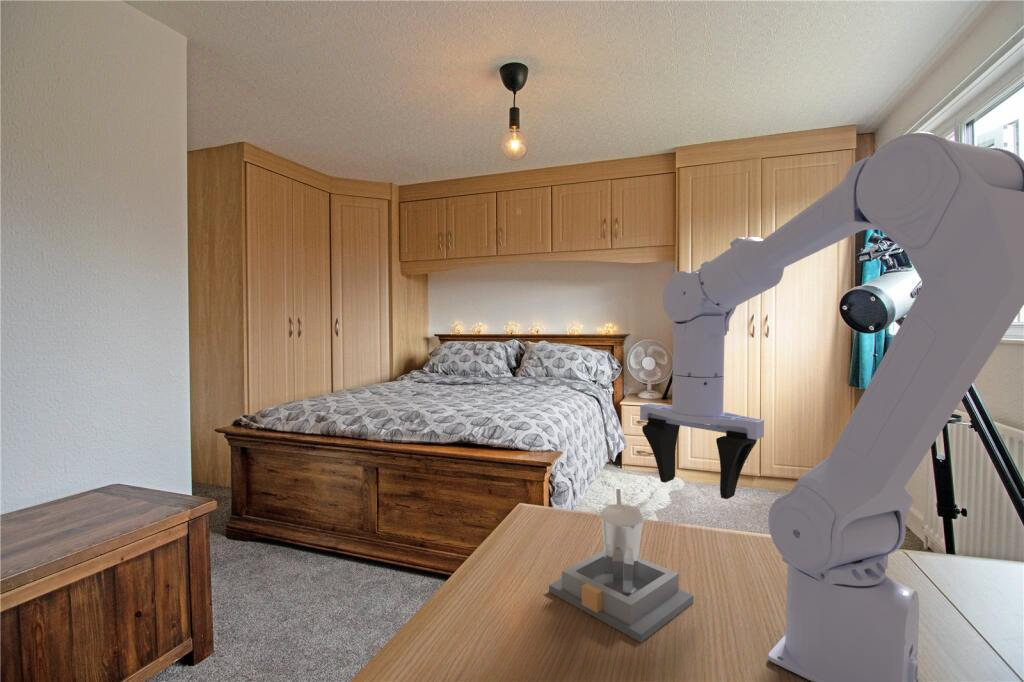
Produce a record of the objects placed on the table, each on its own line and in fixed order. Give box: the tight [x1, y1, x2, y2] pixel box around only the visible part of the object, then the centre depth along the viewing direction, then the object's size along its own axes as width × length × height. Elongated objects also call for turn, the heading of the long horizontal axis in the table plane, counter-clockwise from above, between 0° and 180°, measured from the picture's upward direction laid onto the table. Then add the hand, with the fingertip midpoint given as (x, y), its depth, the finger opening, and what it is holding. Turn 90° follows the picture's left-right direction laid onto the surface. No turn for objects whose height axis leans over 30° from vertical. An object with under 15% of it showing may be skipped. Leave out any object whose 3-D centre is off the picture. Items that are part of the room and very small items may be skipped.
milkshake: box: [600, 488, 644, 594], centre depth 56 cm, size 4×5×10 cm
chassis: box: [548, 549, 695, 644], centre depth 55 cm, size 12×10×3 cm
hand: (696, 488), depth 60 cm, fingers open, 7 cm apart
